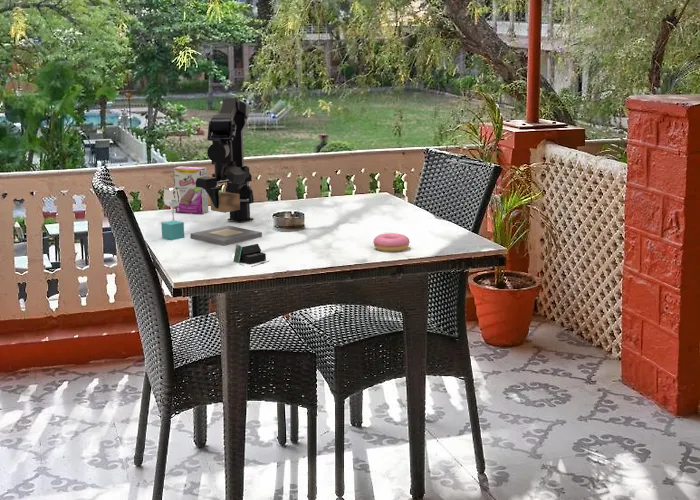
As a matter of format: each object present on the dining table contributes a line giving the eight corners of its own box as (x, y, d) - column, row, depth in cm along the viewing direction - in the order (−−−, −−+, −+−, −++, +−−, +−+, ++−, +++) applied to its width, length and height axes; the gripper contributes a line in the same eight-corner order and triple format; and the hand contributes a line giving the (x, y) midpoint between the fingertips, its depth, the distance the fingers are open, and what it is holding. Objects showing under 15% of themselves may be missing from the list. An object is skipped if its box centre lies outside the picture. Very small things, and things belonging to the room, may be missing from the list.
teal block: (174, 235, 308) (173, 220, 307) (184, 237, 304) (183, 222, 303) (162, 238, 304) (161, 222, 303) (171, 240, 301) (171, 224, 300)
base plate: (229, 229, 315) (228, 224, 314) (261, 236, 304) (261, 231, 304) (190, 238, 303) (190, 232, 303) (223, 245, 293) (223, 240, 292)
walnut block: (226, 207, 306) (226, 191, 305) (240, 209, 302) (239, 194, 301) (210, 210, 301) (210, 194, 300) (224, 212, 297) (223, 197, 296)
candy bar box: (174, 213, 344) (172, 168, 340) (181, 210, 348) (179, 166, 344) (202, 214, 340) (200, 169, 336) (209, 212, 345) (207, 167, 341)
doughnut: (398, 243, 294) (398, 230, 293) (416, 250, 285) (416, 236, 284) (366, 247, 290) (366, 233, 289) (384, 254, 280) (384, 240, 279)
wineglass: (174, 225, 322) (172, 190, 319) (161, 223, 325) (159, 189, 322) (185, 222, 327) (183, 188, 324) (173, 220, 330) (171, 186, 327)
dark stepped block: (256, 253, 284) (256, 235, 283) (289, 262, 274) (288, 243, 272) (215, 262, 274) (214, 243, 273) (247, 271, 264) (246, 252, 262)
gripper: (216, 163, 286) (219, 214, 289) (262, 156, 299) (264, 205, 303) (193, 160, 293) (195, 209, 297) (239, 153, 306) (240, 201, 310)
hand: (225, 206), depth 301 cm, fingers closed on walnut block, 6 cm apart
